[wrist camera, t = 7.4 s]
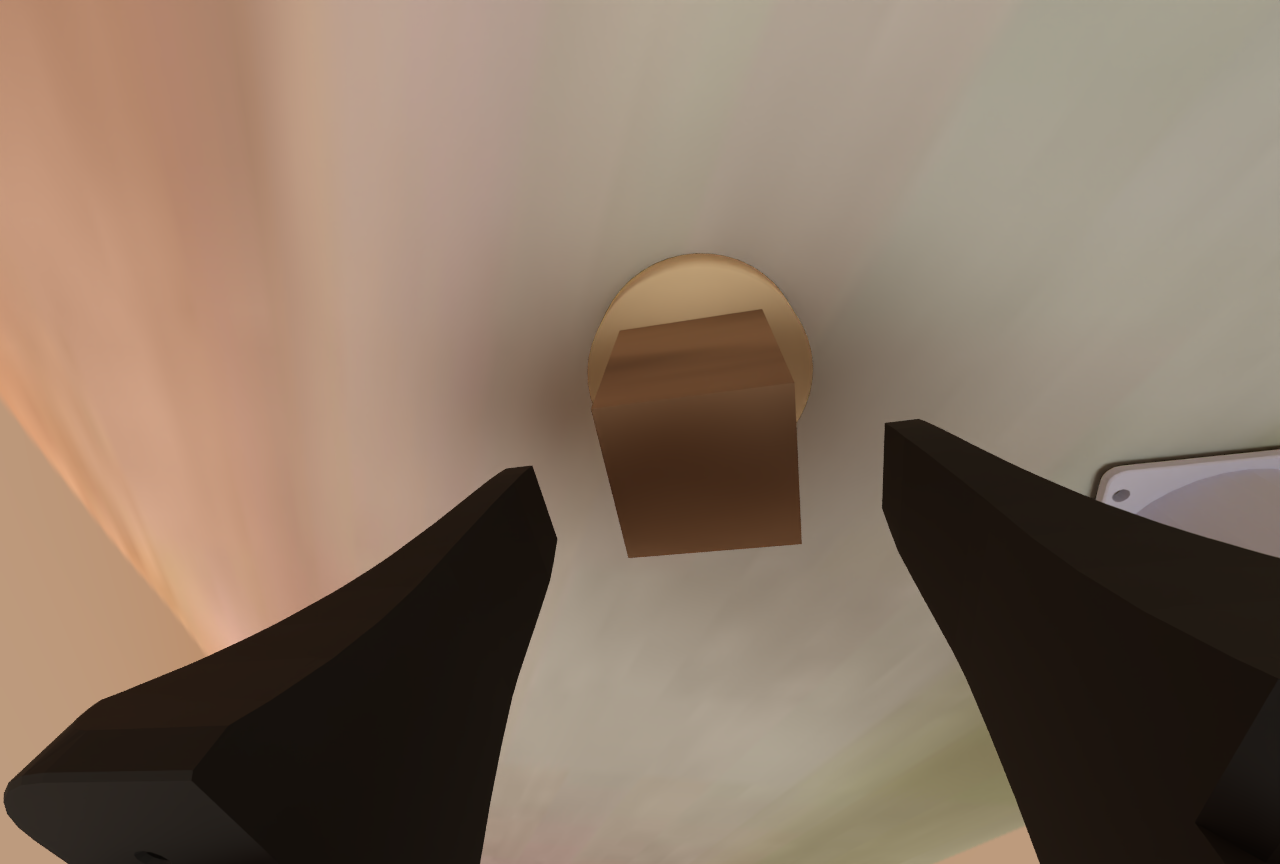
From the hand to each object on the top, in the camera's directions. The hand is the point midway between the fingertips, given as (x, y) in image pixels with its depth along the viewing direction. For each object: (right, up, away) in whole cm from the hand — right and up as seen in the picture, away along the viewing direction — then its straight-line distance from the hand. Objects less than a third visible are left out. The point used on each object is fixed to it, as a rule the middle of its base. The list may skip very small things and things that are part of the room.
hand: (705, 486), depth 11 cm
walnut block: (0, +3, +5) cm, 5 cm away
